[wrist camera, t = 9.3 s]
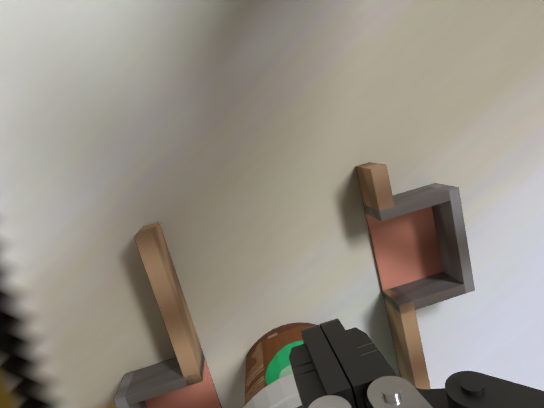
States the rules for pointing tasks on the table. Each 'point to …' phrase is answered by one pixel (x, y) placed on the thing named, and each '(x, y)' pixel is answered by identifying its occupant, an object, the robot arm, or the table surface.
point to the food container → (273, 369)
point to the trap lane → (392, 272)
